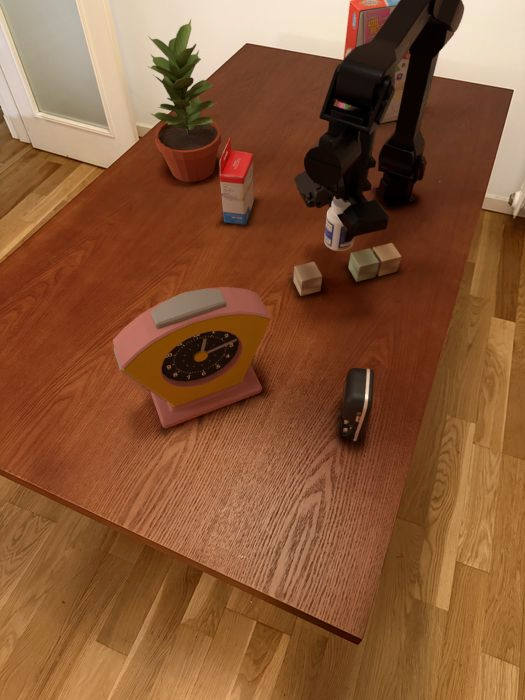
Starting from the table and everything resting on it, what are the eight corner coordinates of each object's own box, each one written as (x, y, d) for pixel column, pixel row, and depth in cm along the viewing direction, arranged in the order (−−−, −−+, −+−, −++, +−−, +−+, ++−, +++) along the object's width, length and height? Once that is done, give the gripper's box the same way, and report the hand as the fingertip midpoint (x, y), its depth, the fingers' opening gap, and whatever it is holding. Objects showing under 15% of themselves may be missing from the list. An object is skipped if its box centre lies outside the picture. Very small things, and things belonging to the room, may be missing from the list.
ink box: (246, 226, 105) (243, 164, 93) (223, 223, 106) (217, 161, 94) (254, 200, 110) (252, 138, 98) (232, 198, 111) (228, 136, 99)
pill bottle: (356, 235, 90) (363, 194, 83) (349, 254, 87) (356, 214, 80) (327, 229, 91) (332, 188, 84) (320, 248, 89) (324, 207, 81)
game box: (407, 106, 132) (435, -14, 110) (417, 117, 129) (448, -5, 107) (335, 120, 129) (349, -2, 107) (343, 132, 126) (360, 8, 103)
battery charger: (339, 400, 80) (348, 360, 71) (362, 404, 80) (375, 364, 71) (335, 440, 76) (344, 402, 67) (360, 444, 76) (372, 407, 67)
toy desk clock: (147, 436, 77) (112, 356, 59) (131, 389, 82) (95, 302, 64) (277, 387, 82) (280, 300, 64) (255, 345, 87) (252, 254, 69)
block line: (387, 258, 99) (392, 242, 96) (397, 271, 97) (401, 256, 94) (293, 281, 96) (294, 266, 93) (300, 296, 94) (301, 281, 90)
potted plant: (148, 181, 114) (116, 38, 90) (179, 145, 123) (157, 5, 98) (207, 196, 111) (190, 52, 87) (235, 158, 119) (226, 17, 95)
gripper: (281, 126, 79) (279, 207, 91) (326, 198, 68) (317, 278, 81) (347, 114, 80) (336, 195, 93) (400, 182, 70) (380, 263, 83)
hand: (340, 230), depth 87 cm, fingers closed on pill bottle, 5 cm apart
